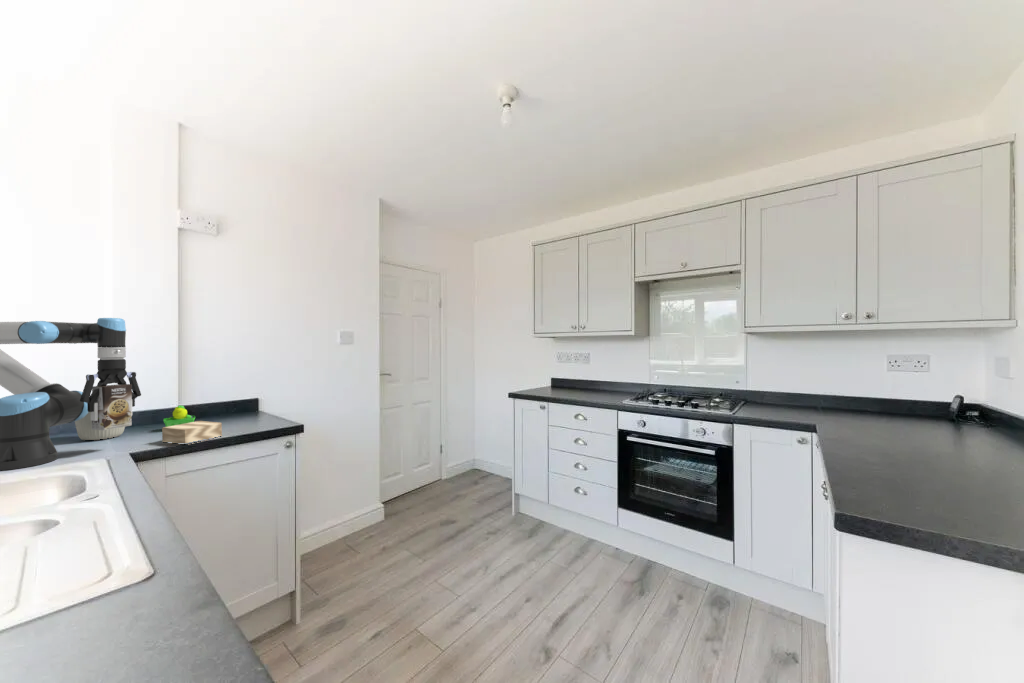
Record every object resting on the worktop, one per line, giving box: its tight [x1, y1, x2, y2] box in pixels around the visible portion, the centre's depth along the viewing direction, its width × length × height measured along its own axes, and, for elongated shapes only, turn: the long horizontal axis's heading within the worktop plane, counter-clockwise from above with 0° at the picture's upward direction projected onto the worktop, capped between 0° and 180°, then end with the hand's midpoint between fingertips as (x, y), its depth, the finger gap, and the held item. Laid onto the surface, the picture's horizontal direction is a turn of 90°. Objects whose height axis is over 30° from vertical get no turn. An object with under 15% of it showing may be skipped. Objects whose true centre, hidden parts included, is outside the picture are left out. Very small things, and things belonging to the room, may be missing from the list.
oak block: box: [161, 420, 223, 444], centre depth 164 cm, size 14×14×6 cm
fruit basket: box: [163, 405, 196, 427], centre depth 186 cm, size 11×9×11 cm
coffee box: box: [91, 383, 133, 430], centre depth 150 cm, size 9×6×16 cm
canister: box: [74, 412, 126, 441], centre depth 169 cm, size 18×18×21 cm
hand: (112, 417), depth 150 cm, fingers closed on coffee box, 9 cm apart
